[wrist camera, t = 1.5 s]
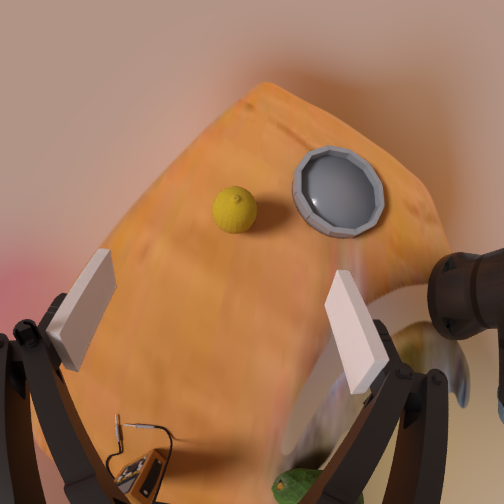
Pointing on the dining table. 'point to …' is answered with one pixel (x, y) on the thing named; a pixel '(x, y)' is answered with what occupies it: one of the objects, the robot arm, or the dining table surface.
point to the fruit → (297, 485)
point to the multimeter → (141, 473)
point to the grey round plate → (337, 192)
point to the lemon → (234, 210)
